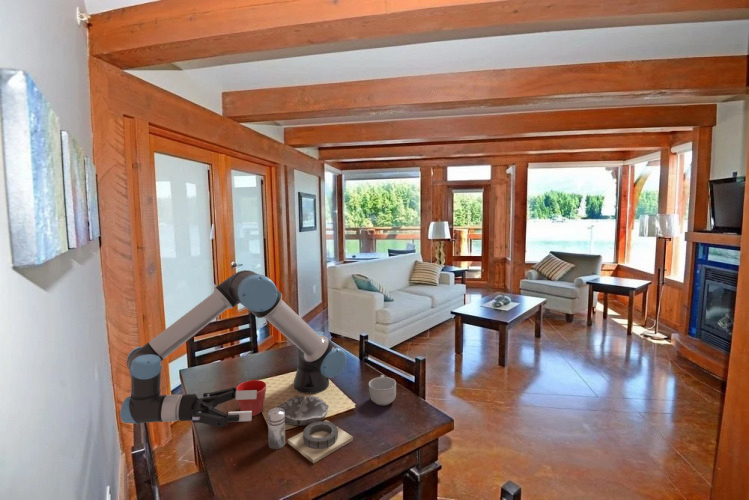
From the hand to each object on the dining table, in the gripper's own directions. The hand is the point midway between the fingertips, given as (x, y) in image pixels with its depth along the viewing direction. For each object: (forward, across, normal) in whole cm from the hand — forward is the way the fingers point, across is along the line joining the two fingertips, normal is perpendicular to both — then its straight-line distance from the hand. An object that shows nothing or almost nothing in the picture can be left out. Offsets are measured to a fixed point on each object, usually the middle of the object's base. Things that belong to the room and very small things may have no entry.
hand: (254, 404), depth 117 cm
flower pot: (-3, -23, -14) cm, 27 cm away
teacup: (+47, -22, -11) cm, 53 cm away
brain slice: (+16, -17, -14) cm, 27 cm away
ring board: (+21, +1, -13) cm, 25 cm away
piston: (+7, -1, -14) cm, 16 cm away
